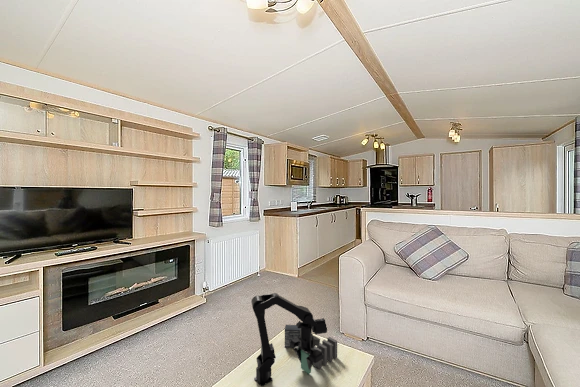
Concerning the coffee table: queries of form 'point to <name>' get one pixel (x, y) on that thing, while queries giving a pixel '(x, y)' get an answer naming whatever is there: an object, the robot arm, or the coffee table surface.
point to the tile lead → (304, 361)
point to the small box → (291, 334)
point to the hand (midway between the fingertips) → (305, 366)
